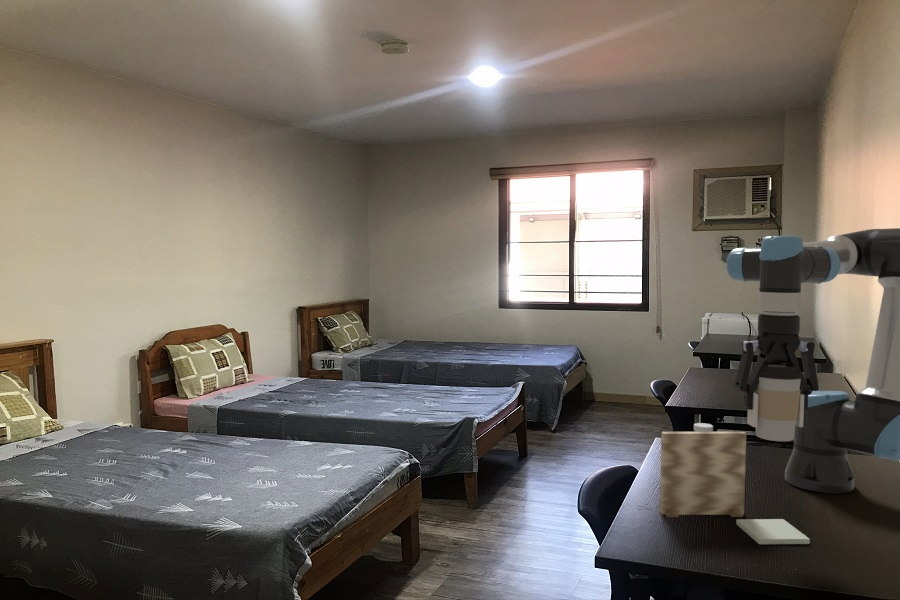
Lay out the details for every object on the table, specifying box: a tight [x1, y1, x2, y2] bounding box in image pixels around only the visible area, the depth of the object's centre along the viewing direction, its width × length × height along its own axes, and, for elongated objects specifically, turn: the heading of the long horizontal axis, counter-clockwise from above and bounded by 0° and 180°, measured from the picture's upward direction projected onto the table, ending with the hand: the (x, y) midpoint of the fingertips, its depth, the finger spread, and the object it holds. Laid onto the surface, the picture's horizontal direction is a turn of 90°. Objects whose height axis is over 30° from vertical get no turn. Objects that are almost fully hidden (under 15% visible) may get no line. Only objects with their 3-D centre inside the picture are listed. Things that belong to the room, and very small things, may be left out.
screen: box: [659, 431, 747, 518], centre depth 146 cm, size 18×4×18 cm, turn 91°
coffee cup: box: [754, 360, 803, 442], centre depth 134 cm, size 9×9×15 cm
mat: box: [735, 518, 811, 545], centre depth 136 cm, size 10×10×1 cm
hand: (774, 425), depth 135 cm, fingers closed on coffee cup, 8 cm apart
